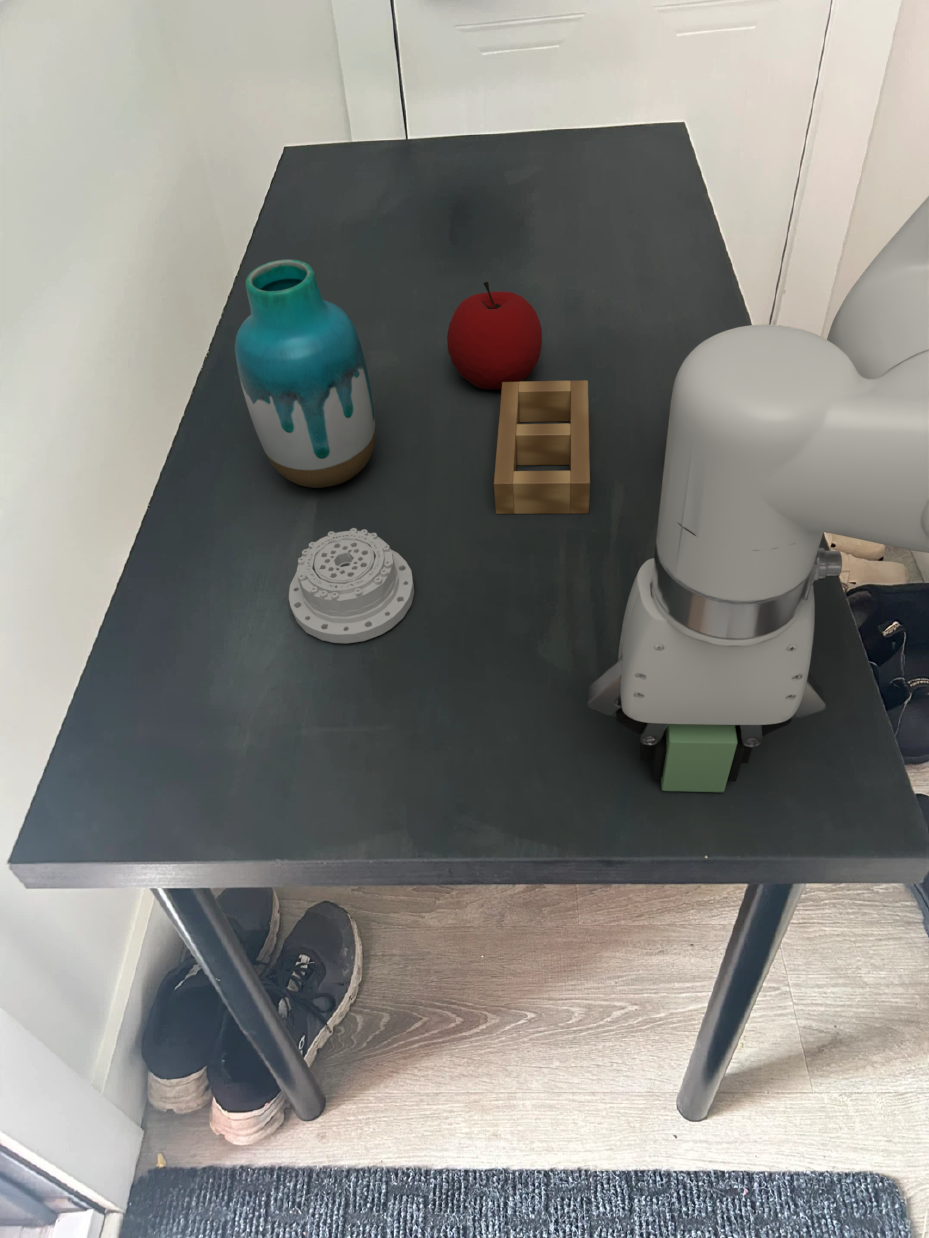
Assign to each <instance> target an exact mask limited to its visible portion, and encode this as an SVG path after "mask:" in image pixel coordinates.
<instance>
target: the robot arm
mask: <svg viewBox="0 0 929 1238" xmlns="http://www.w3.org/2000/svg"><path fill="white" fill-rule="evenodd" d="M670 397H671V398H670V405H669V417H668V423H667V434H666V435H667V436H666V445H665V453H664V463H663V473H662V483H661V491H660V501H659V510H658V520H657V528H656V529H657V530H656V539H655V548H654V557H653V558H649V559H647V560H646V561H644V563H642V565H641V566H640V568H639V570H638V571H637V574H636V576H635V578H634V581H633V583H632V586H631V589H630V592H629V595H628V599H627V603H626V606H625V610H624V615H623V619H622V626H621V632H620V639H619V645H618V646H619V647H618V657H617V658H618V659H617V660H618V661H616V662H615V663H614V664H612V665H611V667H609V668H608V669H607V670H606V671H604V672H603V673H602V674H601V675H600V676H599V677H597V678H596V679H595V680H594V681H593V682H592V683H590V684H589V685H588V686H587V688H586V707H587V708H588V709H590V710H591V711H595V712H598V713H600V714H602V715H605V716H608V717H615V719H616V722H617V723H618V724H620V725H622V726H623V727H625V728H627V729H629V730H630V731H632V732H634V733H635V734H637V735H639V754H640V755H639V756H640V757H639V758H640V761H641V762H649V763H650V764H649V765H650V777H651V780H658V781H659V780H660V781H661V778H662V775H663V769H664V763H665V756H666V748H667V747H666V734H665V730H666V728H667V726H668V725H669V724H704V725H735V729H736V736H737V746H736V750H735V753H734V757H733V761H732V765H731V768H730V772H729V776H728V780H727V782H737V780H738V776H739V772H740V769H741V765H742V764H748V763H749V761H750V757H751V753H752V751H753V748H756V747H759V746H761V745H762V744H763V742H764V741H763V736H765V735H768V734H770V733H773V732H775V731H778V730H779V729H781V728H783V727H786V726H788V725H790V724H791V723H792V720H793V719H796V720H798V719H802V718H805V717H808V716H812V715H815V714H818V713H821V712H825V710H826V709H827V703H826V699H825V695H824V691H823V688H822V687H821V685H820V684H819V683H818V682H817V680H816V679H815V678H814V676H813V675H812V674H811V673H810V666H811V661H812V660H811V659H812V654H813V653H812V652H813V644H814V634H815V617H816V614H815V612H816V609H815V608H816V607H815V603H816V602H815V592H814V585H815V583H817V582H818V581H824V579H825V578H839V577H840V576H841V574H842V569H843V556H842V553H841V551H840V550H826V549H825V548H824V547H820V545H821V543H822V542H821V541H822V540H823V535H824V533H826V534H832V535H836V536H841V537H845V538H846V537H847V538H851V539H856V540H860V541H865V542H870V543H875V544H879V545H884V546H889V547H894V548H898V549H903V550H908V551H912V552H913V551H914V552H919V553H925V554H926V553H927V554H929V195H928V196H927V197H926V198H925V199H924V200H923V202H922V203H921V204H920V205H919V206H918V207H917V208H916V210H915V211H914V212H913V213H912V214H911V215H910V216H909V218H908V219H907V220H906V221H905V222H904V223H903V224H902V226H901V227H900V228H899V229H898V231H897V232H896V233H895V234H894V235H893V236H892V237H891V238H890V240H888V242H887V243H886V244H885V245H884V246H883V248H881V250H879V252H878V254H876V256H875V257H874V258H873V259H872V261H871V262H870V263H869V264H868V266H867V267H866V268H865V270H864V271H863V272H862V274H861V275H860V276H859V277H858V279H857V280H856V282H854V284H853V286H852V287H851V288H850V290H849V291H848V293H847V294H846V296H845V298H844V300H843V302H842V303H841V305H840V307H839V309H838V310H837V312H836V314H835V316H834V318H833V320H832V323H831V326H830V329H829V332H828V334H827V338H825V337H823V336H820V335H818V334H816V333H814V332H812V331H808V330H805V329H803V328H797V327H793V326H788V325H780V324H765V323H764V324H750V325H743V326H738V327H734V328H731V329H726V330H724V331H721V332H718V333H716V334H714V335H712V336H710V337H708V338H706V339H705V340H703V341H702V342H701V343H699V344H698V345H697V346H695V347H694V348H693V349H692V350H691V351H690V353H689V354H688V355H687V356H686V357H685V358H684V360H683V361H682V363H681V365H680V367H679V369H678V371H677V373H676V375H675V378H674V382H673V386H672V393H671V396H670Z"/></svg>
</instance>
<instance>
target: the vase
mask: <svg viewBox="0 0 929 1238" xmlns="http://www.w3.org/2000/svg"><path fill="white" fill-rule="evenodd" d="M244 284H245V291H246V294H247V299H248V303H249V309H250V315H249V316H247V317H246V319H245V320H243V322H242V324H241V325H240V326H239V328H238V330H237V333H236V336H235V343H234V353H235V362H236V366H237V374H238V377H239V382H240V387H241V390H242V393H243V396H244V400H245V403H246V407H247V410H248V412H249V416H250V419H251V422H252V424H253V427H254V431H255V432H256V435H257V437H258V440H259V442H260V444H261V446H262V449H263V451H264V454H265V455H266V457H267V459H268V461H269V462H270V464H271V465H272V467H273V468H274V469H275V470H276V471H277V472H278V474H280V475H281V476H282V477H284V478H285V479H286V480H288V481H289V482H290V483H293V484H296V485H298V486H301V487H306V488H311V489H313V488H314V489H323V488H331V487H334V486H338V485H340V484H343V483H346V482H347V481H349V480H351V479H353V478H354V477H355V476H357V475H358V474H360V472H362V470H363V469H364V468H365V467H366V465H367V464H368V462H369V461H370V458H371V456H372V454H373V452H374V449H375V443H376V419H375V418H376V417H375V406H374V400H373V393H372V388H371V382H370V376H369V373H368V368H367V364H366V359H365V355H364V352H363V348H362V344H361V341H360V339H359V335H358V332H357V330H356V327H355V325H354V323H353V321H352V319H351V318H350V316H349V315H348V314H347V313H346V312H345V310H344V309H342V308H341V307H340V306H338V305H336V304H335V303H334V302H331V301H329V300H325V299H323V297H322V294H321V291H320V288H319V285H318V281H317V278H316V275H315V271H314V269H313V268H312V267H311V265H310V264H308V263H307V262H304V261H302V260H299V259H288V258H287V259H277V260H272V261H269V262H265V263H264V264H263V263H262V264H261V265H259V266H257V267H255V268H254V269H253V270H252V271H250V272H249V274H248V275H247V276H246V279H245V283H244Z"/></svg>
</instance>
